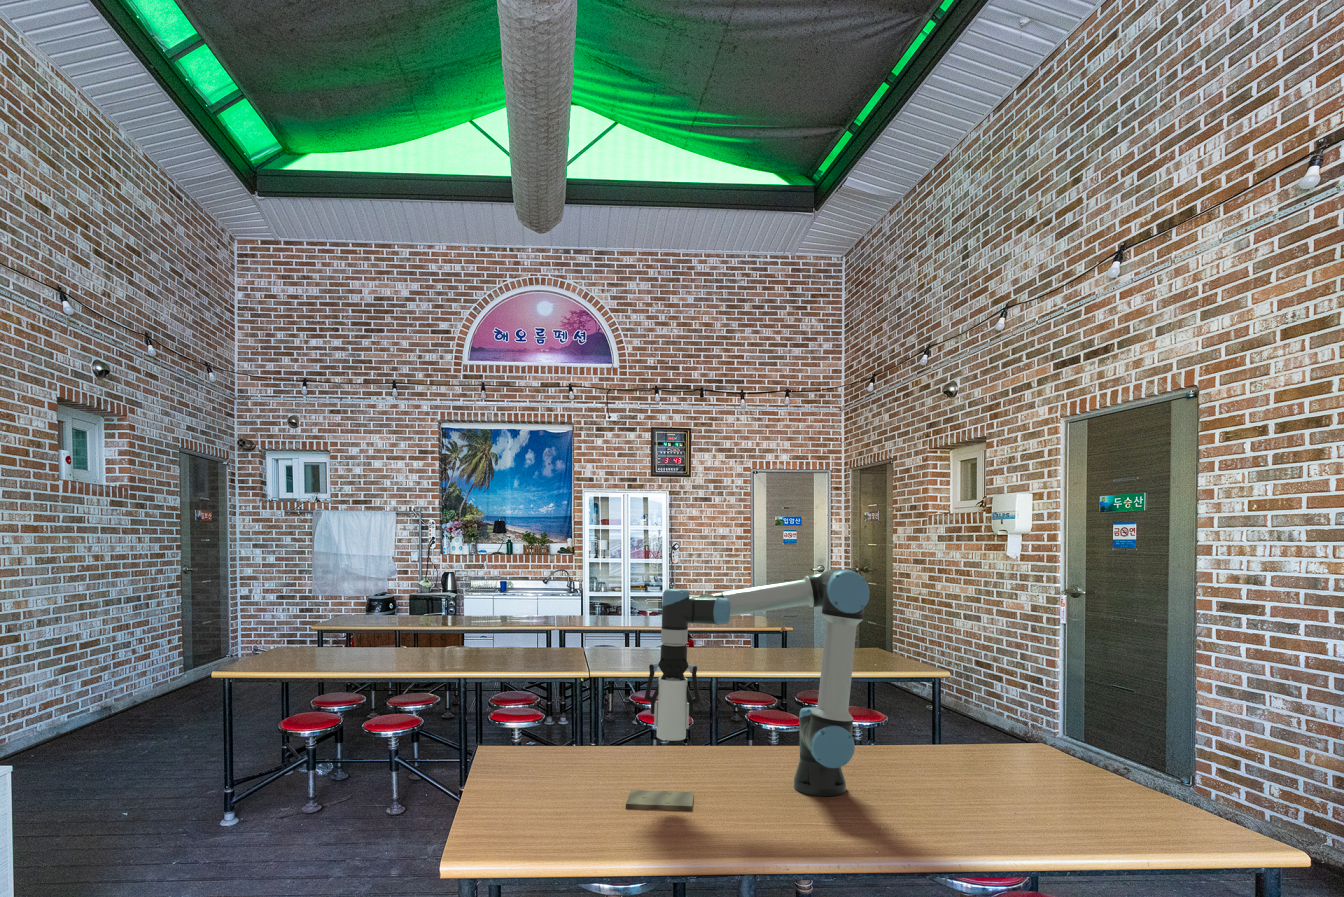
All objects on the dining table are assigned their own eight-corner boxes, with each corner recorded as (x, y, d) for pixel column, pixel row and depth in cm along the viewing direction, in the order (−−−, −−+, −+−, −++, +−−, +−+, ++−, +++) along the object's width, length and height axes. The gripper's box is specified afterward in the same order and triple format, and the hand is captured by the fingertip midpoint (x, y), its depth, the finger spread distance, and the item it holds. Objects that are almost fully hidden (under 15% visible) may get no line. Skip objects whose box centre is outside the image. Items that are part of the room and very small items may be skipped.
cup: (686, 734, 219) (688, 676, 221) (684, 741, 211) (686, 681, 213) (658, 732, 220) (660, 675, 222) (654, 739, 212) (656, 679, 214)
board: (693, 796, 218) (693, 791, 218) (692, 810, 206) (692, 805, 206) (630, 794, 219) (630, 789, 219) (625, 808, 207) (625, 803, 207)
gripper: (711, 644, 221) (708, 725, 219) (638, 640, 223) (635, 722, 220) (710, 647, 214) (708, 731, 211) (636, 644, 215) (632, 728, 212)
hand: (671, 726), depth 215 cm, fingers closed on cup, 8 cm apart
